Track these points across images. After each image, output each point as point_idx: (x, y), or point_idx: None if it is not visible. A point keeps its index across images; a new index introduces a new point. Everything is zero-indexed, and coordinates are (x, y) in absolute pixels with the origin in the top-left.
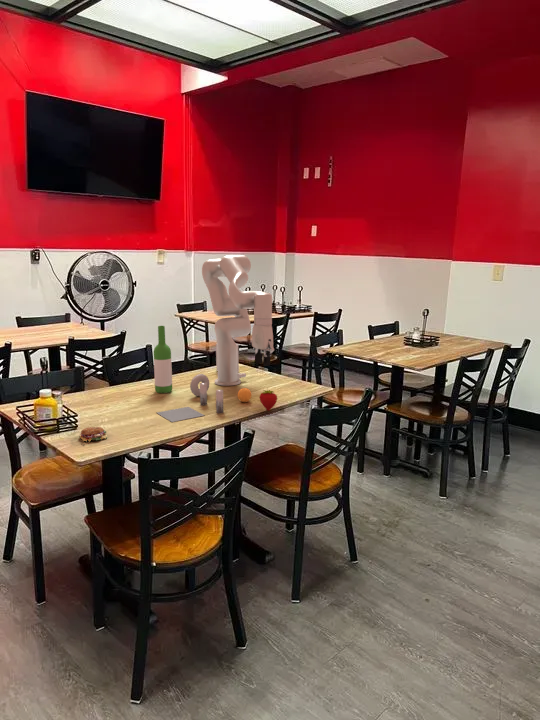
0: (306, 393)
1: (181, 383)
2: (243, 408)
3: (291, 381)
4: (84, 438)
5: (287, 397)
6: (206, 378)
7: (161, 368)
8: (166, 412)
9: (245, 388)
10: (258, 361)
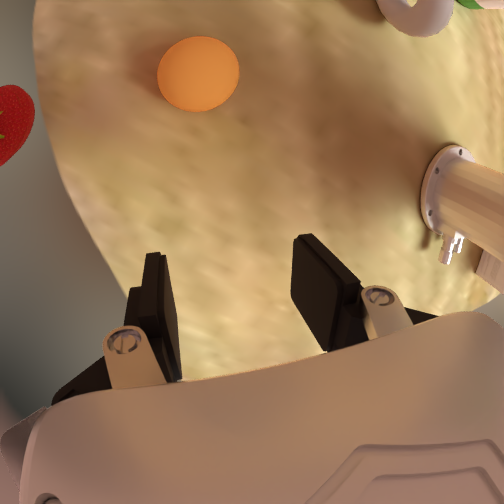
0: (182, 360)
1: (496, 80)
2: (107, 33)
3: None
4: None
5: None
6: (426, 6)
7: None
8: None
9: (196, 71)
10: (299, 264)
